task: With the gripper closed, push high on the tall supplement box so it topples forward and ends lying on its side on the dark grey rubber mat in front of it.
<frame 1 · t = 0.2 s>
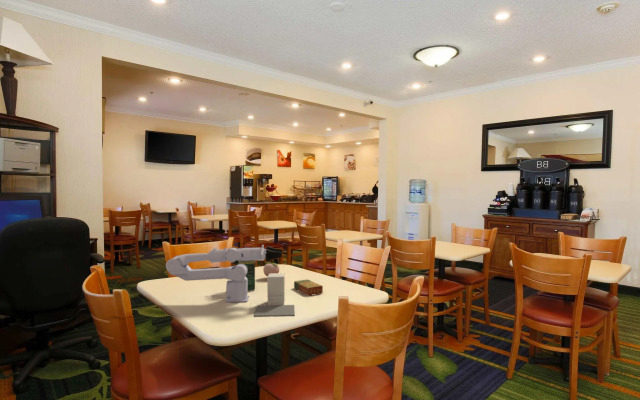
hand: (282, 253, 167), 21 cm above the table, tool horizontal, fingers open, 7 cm apart
decorative fruit: (270, 278, 207), on the table
carton: (307, 291, 182), on the table
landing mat: (275, 310, 150), on the table
supplement box: (276, 303, 161), on the table
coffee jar: (246, 289, 184), on the table
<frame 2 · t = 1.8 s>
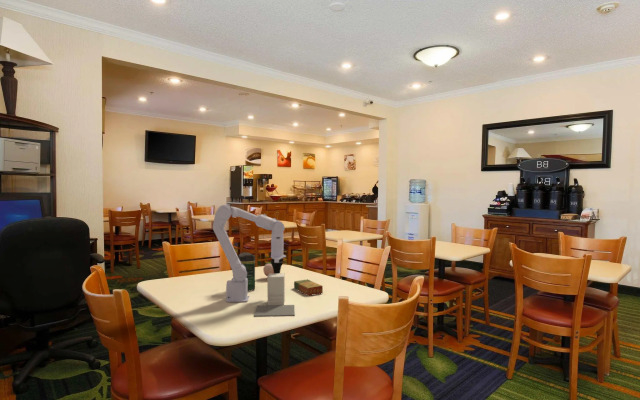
hand: (277, 275, 170), 10 cm above the table, tool pointing down, fingers open, 5 cm apart
nothing on the table moved.
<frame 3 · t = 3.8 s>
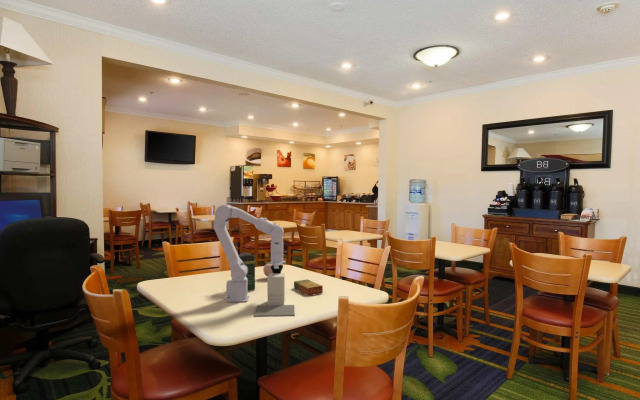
hand: (276, 281, 166), 8 cm above the table, tool pointing down, fingers closed
supplement box: (276, 303, 161), on the table, touching gripper
everything else where it was.
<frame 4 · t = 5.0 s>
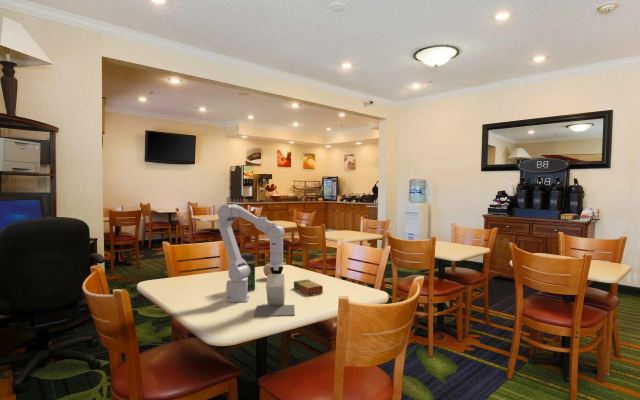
hand: (276, 283, 159), 9 cm above the table, tool pointing down, fingers closed, pressing on supplement box
supplement box: (276, 299, 160), point 2 cm above the table, touching gripper
everything else where it was.
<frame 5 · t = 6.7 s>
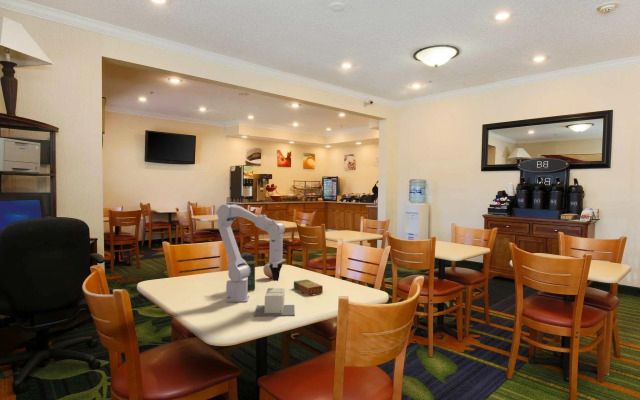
hand: (275, 280, 159), 10 cm above the table, tool pointing down, fingers closed
supplement box: (276, 295, 157), point 4 cm above the table, touching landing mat
everything else where it was.
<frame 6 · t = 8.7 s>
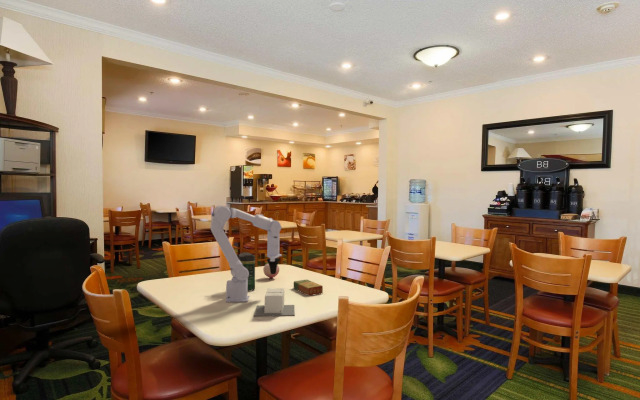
hand: (273, 273, 173), 10 cm above the table, tool pointing down, fingers closed
nothing on the table moved.
at the end: supplement box tilted 90°; supplement box touching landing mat; supplement box inside the target area (5.1 cm from its centre), point 4.1 cm above the table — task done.
